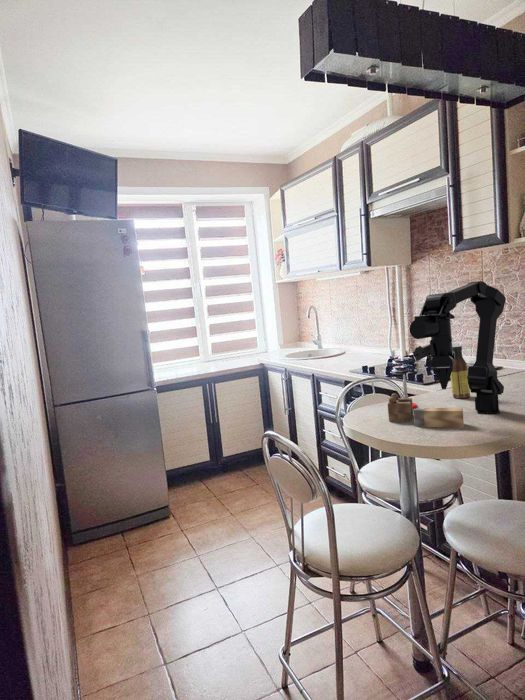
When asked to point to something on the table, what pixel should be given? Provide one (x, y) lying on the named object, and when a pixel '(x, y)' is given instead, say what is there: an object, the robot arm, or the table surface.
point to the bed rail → (439, 417)
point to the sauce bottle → (459, 375)
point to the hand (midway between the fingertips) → (444, 386)
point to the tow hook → (406, 391)
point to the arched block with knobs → (400, 408)
